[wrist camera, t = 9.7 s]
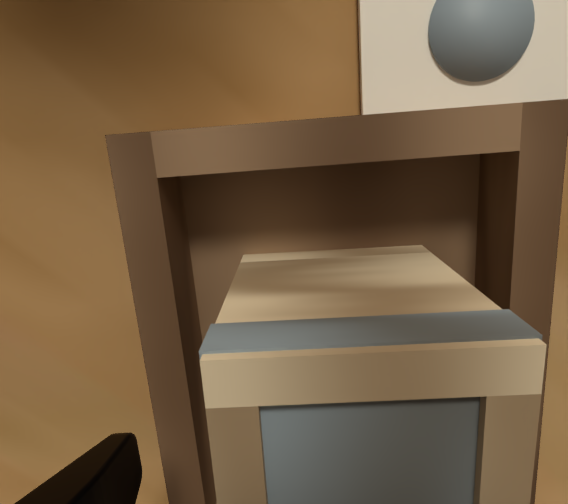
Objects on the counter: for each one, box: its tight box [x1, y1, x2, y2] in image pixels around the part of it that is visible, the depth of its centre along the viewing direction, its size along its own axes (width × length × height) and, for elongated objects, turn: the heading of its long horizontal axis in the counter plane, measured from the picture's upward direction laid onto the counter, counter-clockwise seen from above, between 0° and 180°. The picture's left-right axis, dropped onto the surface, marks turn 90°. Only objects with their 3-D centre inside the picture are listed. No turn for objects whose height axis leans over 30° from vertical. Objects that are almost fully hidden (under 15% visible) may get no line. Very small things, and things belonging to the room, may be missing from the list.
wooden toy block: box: [199, 245, 547, 504], centre depth 10 cm, size 5×5×6 cm
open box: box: [105, 99, 568, 504], centre depth 12 cm, size 10×12×3 cm
